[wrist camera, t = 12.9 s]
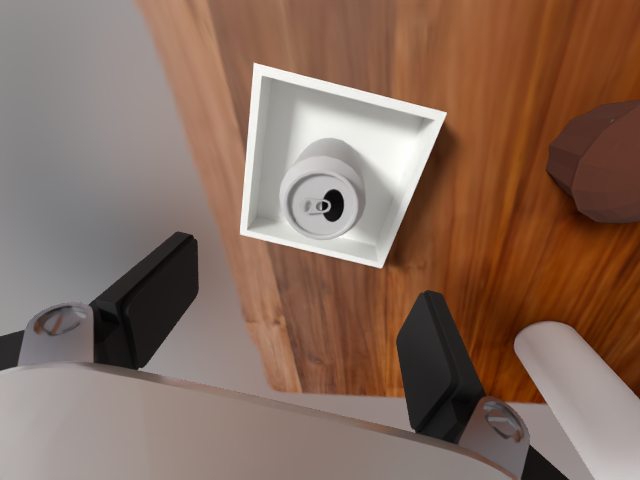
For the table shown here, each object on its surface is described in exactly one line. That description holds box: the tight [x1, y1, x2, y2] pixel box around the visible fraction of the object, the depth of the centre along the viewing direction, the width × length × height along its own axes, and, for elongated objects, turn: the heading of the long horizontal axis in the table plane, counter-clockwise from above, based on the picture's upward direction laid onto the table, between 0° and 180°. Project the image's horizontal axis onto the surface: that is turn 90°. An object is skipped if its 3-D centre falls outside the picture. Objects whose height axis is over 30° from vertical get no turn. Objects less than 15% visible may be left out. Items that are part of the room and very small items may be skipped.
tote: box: [240, 63, 447, 268], centre depth 31 cm, size 18×18×5 cm
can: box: [279, 138, 366, 240], centre depth 27 cm, size 8×8×12 cm
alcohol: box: [514, 321, 640, 480], centre depth 30 cm, size 9×9×30 cm
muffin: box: [546, 100, 640, 224], centre depth 25 cm, size 12×11×10 cm
